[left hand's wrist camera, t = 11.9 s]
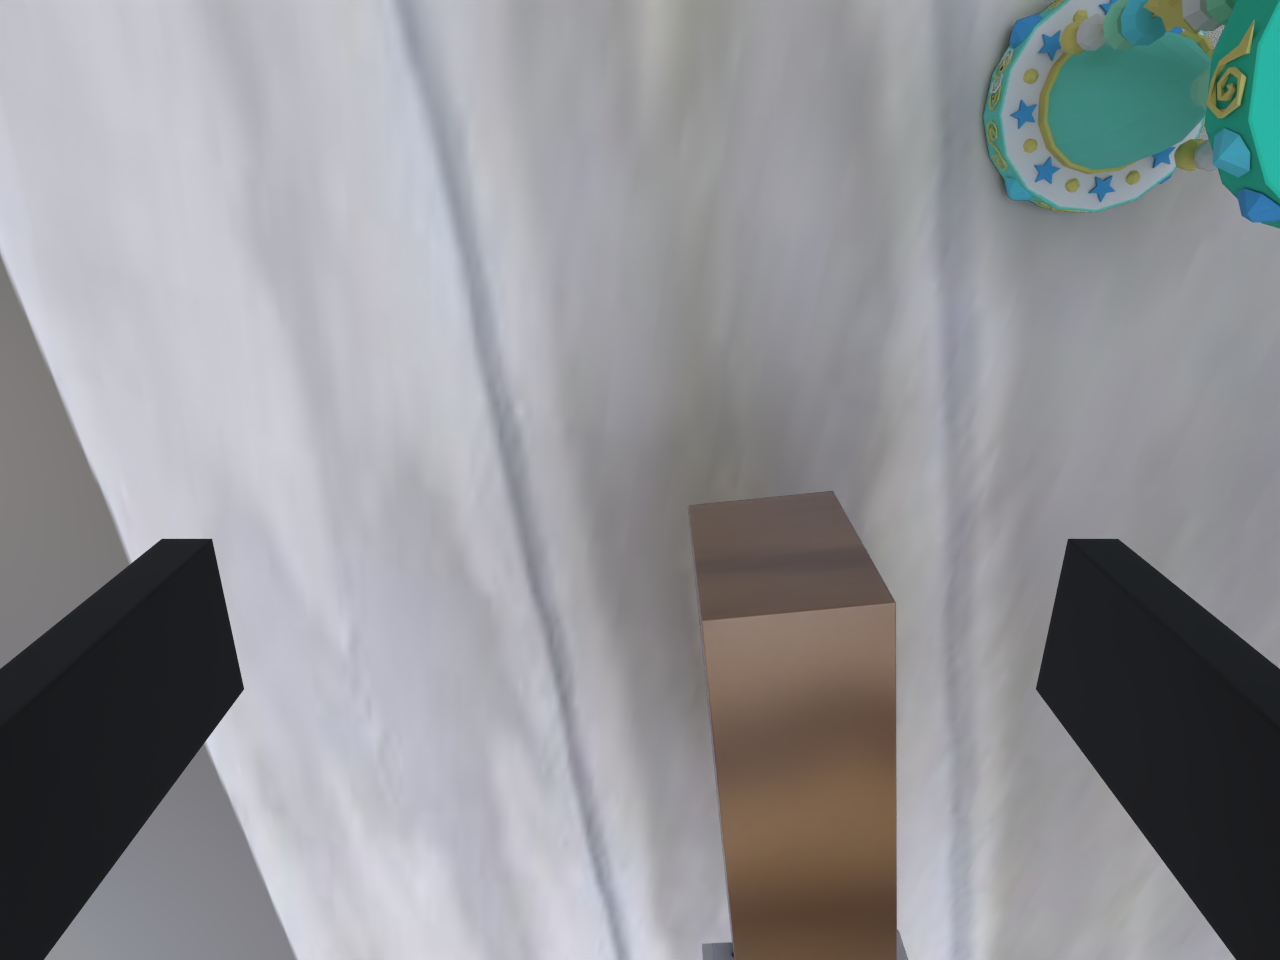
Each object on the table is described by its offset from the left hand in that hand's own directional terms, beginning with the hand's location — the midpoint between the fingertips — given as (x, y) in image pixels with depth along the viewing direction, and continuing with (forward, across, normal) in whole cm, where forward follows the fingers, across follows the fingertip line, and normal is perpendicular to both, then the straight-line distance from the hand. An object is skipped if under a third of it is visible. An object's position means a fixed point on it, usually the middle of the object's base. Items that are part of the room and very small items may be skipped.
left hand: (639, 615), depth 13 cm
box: (+20, +6, -18) cm, 28 cm away
